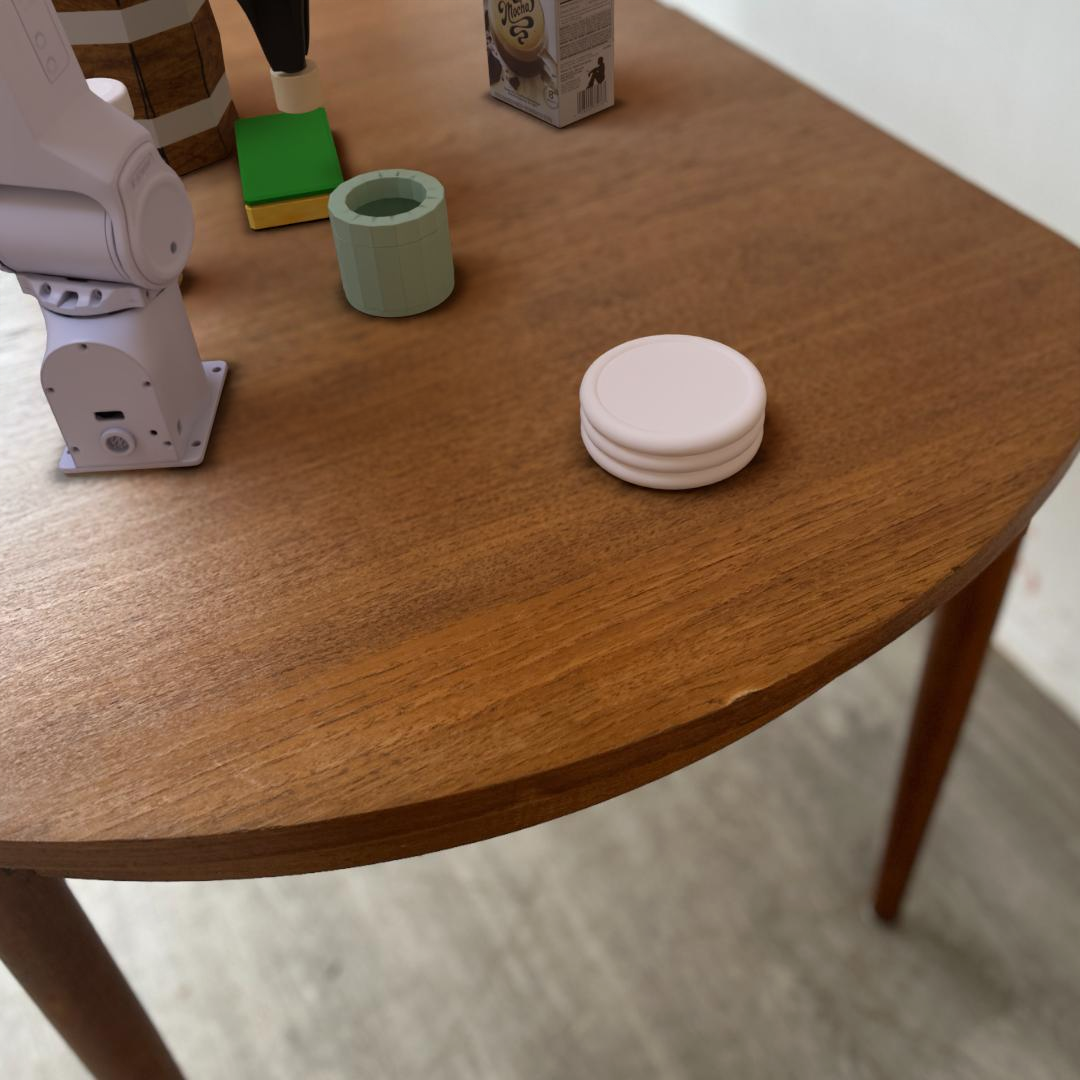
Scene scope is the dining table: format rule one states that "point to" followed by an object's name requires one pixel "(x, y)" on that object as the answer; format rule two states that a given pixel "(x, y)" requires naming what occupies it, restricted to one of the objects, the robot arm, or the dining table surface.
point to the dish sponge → (287, 167)
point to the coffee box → (551, 56)
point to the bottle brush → (298, 89)
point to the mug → (160, 70)
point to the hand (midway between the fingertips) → (290, 62)
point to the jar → (392, 242)
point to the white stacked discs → (672, 411)
